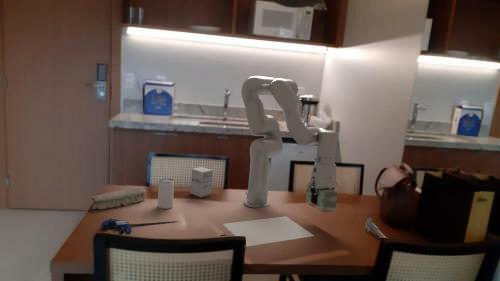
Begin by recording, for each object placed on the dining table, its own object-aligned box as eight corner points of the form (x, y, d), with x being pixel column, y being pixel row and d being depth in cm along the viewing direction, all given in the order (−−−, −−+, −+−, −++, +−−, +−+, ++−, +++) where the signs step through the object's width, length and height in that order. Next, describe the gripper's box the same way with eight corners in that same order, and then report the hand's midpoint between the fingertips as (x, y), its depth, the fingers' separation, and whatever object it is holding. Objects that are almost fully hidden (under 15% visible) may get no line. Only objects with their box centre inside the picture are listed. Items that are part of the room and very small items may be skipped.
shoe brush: (96, 212, 151) (96, 200, 150) (88, 206, 156) (88, 195, 155) (148, 201, 169) (149, 190, 168) (139, 196, 174) (139, 186, 173)
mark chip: (219, 236, 141) (219, 235, 141) (227, 235, 143) (227, 233, 143) (223, 240, 138) (223, 239, 138) (232, 239, 140) (232, 237, 140)
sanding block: (305, 202, 160) (307, 184, 159) (316, 201, 163) (318, 183, 162) (323, 212, 150) (325, 193, 148) (335, 211, 153) (337, 192, 151)
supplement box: (189, 193, 183) (191, 168, 181) (200, 190, 189) (202, 166, 187) (200, 197, 179) (202, 172, 177) (211, 194, 185) (213, 169, 183)
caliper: (364, 230, 161) (366, 216, 160) (366, 229, 161) (368, 216, 160) (395, 252, 142) (398, 237, 140) (398, 252, 142) (400, 237, 141)
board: (222, 227, 148) (222, 223, 148) (285, 219, 163) (285, 216, 162) (245, 250, 131) (246, 246, 131) (313, 239, 145) (314, 235, 145)
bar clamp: (103, 230, 131) (100, 219, 139) (103, 237, 131) (99, 225, 140) (192, 224, 146) (184, 214, 155) (191, 230, 146) (183, 220, 155)
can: (154, 207, 161) (156, 180, 159) (161, 202, 168) (163, 177, 165) (168, 210, 160) (170, 183, 158) (175, 205, 166) (176, 179, 164)
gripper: (314, 163, 146) (309, 207, 149) (347, 161, 154) (341, 203, 157) (302, 158, 152) (297, 201, 155) (335, 157, 161) (330, 197, 164)
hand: (320, 202), depth 156 cm, fingers closed on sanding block, 6 cm apart
